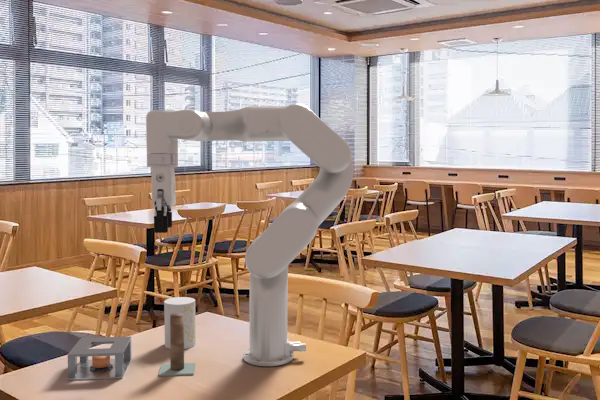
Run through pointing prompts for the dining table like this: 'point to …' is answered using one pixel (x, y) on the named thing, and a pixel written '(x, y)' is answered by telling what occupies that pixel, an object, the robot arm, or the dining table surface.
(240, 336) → the dining table surface
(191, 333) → the cup
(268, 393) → the dining table surface
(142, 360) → the dining table surface
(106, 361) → the breaker plunger
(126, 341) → the guard cage
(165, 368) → the mat
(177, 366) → the brown wooden rod
